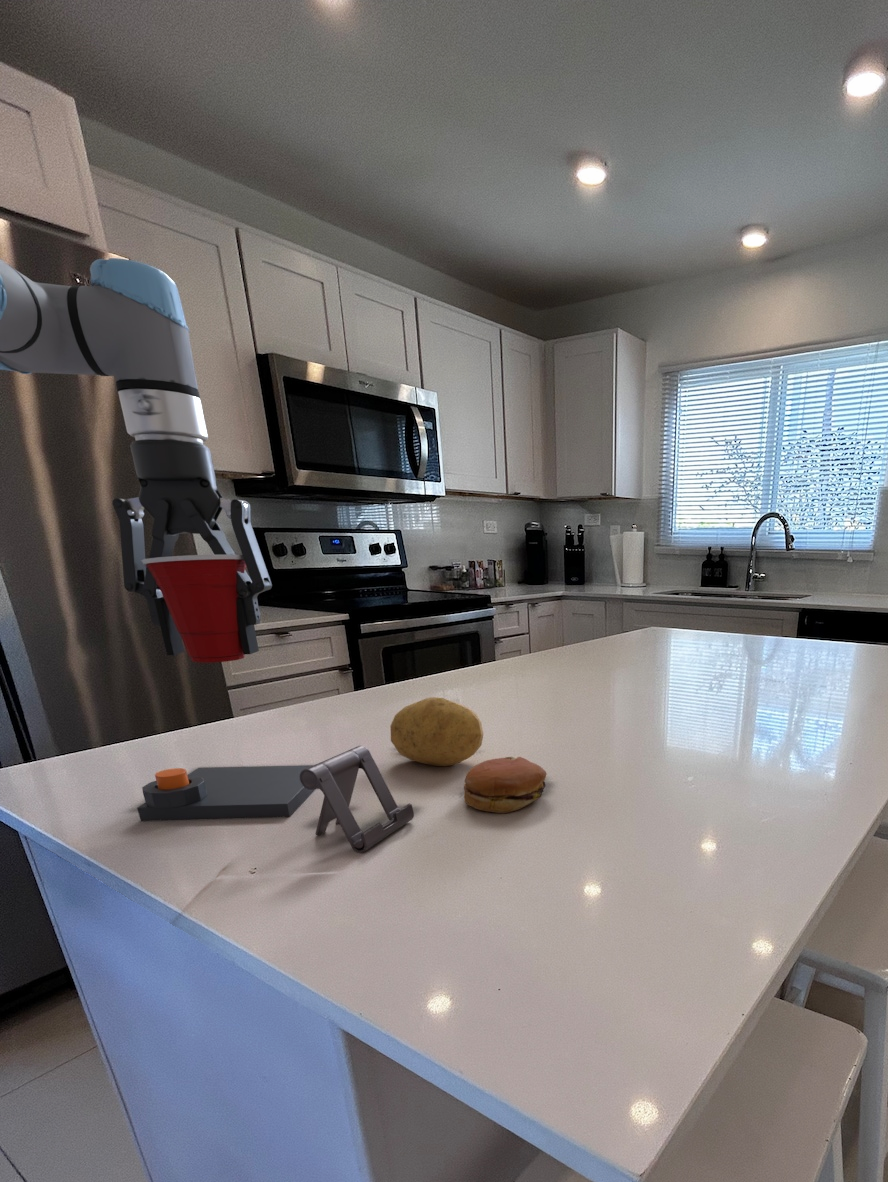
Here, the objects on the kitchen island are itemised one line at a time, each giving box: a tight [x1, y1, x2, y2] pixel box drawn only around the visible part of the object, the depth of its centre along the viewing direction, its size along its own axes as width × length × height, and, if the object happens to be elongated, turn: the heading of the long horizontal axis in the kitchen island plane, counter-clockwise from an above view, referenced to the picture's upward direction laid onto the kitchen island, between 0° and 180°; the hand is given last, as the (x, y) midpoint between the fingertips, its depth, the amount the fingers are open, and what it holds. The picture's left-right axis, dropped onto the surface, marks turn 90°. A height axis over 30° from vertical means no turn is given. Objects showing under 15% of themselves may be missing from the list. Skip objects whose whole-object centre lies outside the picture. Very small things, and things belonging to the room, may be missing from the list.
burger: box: [463, 756, 548, 814], centre depth 79 cm, size 10×9×5 cm
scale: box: [136, 764, 316, 822], centre depth 79 cm, size 16×14×4 cm
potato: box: [390, 696, 484, 767], centre depth 91 cm, size 10×13×9 cm
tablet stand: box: [300, 745, 415, 854], centre depth 69 cm, size 9×8×8 cm
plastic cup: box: [141, 554, 247, 664], centre depth 78 cm, size 11×11×12 cm
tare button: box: [154, 767, 189, 790], centre depth 74 cm, size 3×3×2 cm
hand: (213, 652), depth 80 cm, fingers closed on plastic cup, 8 cm apart
